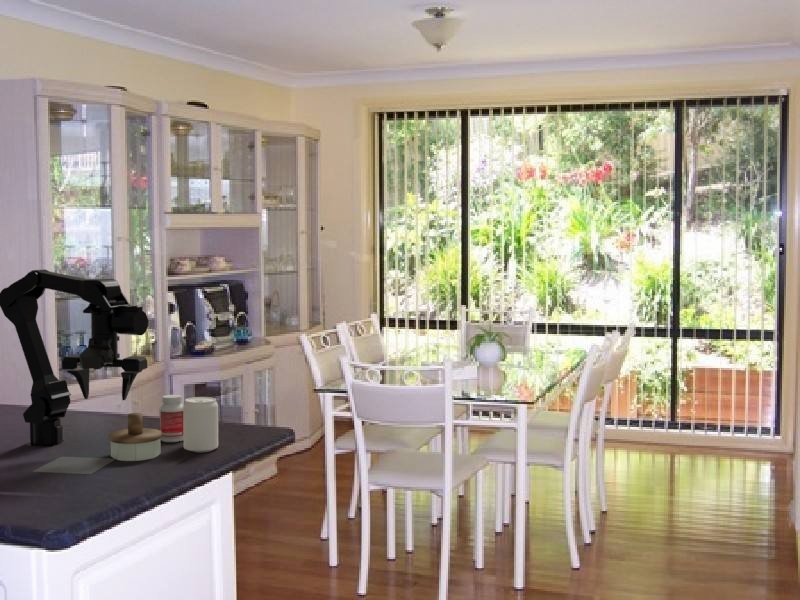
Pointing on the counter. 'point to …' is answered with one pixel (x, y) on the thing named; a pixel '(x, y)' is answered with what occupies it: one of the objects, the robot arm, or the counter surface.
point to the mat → (74, 465)
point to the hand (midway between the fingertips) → (105, 399)
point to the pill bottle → (171, 418)
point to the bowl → (135, 451)
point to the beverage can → (200, 424)
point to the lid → (135, 432)
